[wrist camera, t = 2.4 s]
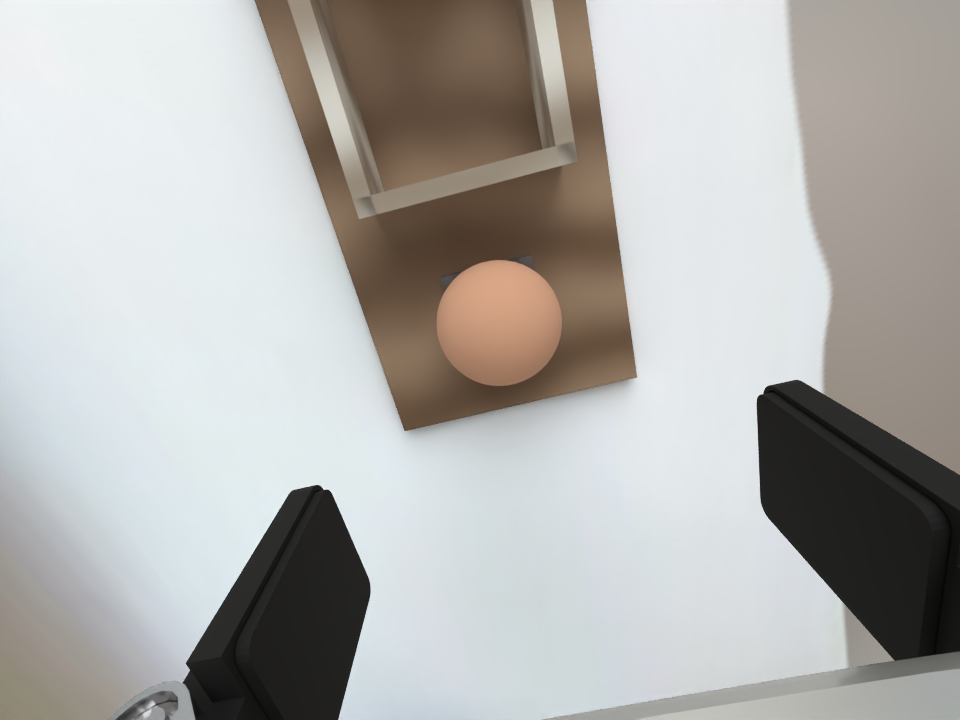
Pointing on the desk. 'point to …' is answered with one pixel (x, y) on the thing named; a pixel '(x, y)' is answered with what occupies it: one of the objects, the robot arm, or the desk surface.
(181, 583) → the desk surface
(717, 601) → the desk surface
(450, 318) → the terracotta ball
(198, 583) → the desk surface
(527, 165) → the sorting board
